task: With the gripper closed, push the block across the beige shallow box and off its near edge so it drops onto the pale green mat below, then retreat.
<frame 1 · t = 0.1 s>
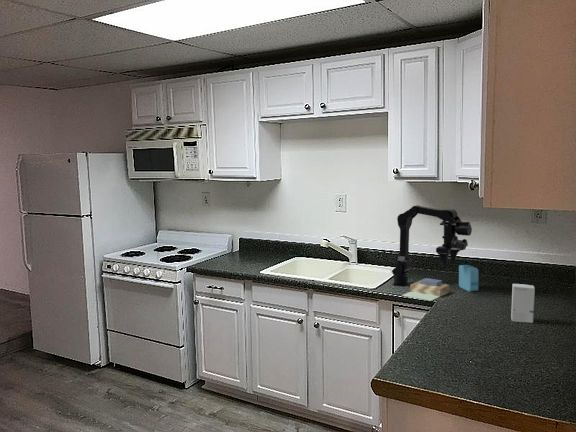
hand: (449, 264, 250), 14 cm above the table, fingers open, 9 cm apart
skincare box: (522, 320, 204), on the table
beige shallow box: (429, 292, 253), on the table
data package: (468, 289, 257), on the table
block: (431, 284, 253), point 4 cm above the table, touching beige shallow box
mat: (420, 296, 245), on the table
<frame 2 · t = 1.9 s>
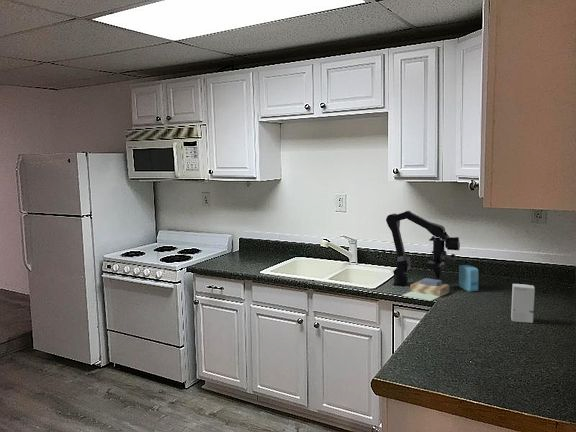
hand: (438, 278, 260), 5 cm above the table, fingers closed
nothing on the table moved.
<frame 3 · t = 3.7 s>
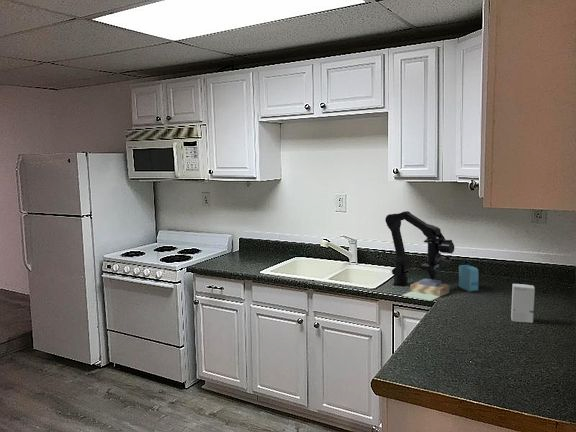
hand: (433, 281, 255), 5 cm above the table, fingers closed
block: (430, 284, 253), point 4 cm above the table, touching gripper
everything else where it was.
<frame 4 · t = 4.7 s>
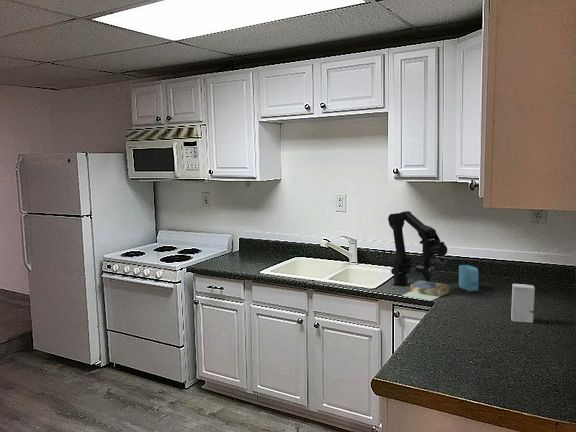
hand: (428, 283, 251), 5 cm above the table, fingers closed
block: (424, 286, 248), point 4 cm above the table, touching beige shallow box
everything else where it was.
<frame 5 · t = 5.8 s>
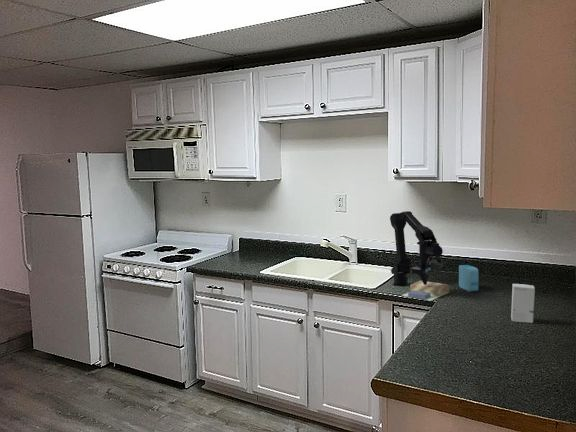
hand: (425, 284, 249), 5 cm above the table, fingers closed
block: (419, 292, 243), point 2 cm above the table, tilted 180°, touching mat
everything else where it was.
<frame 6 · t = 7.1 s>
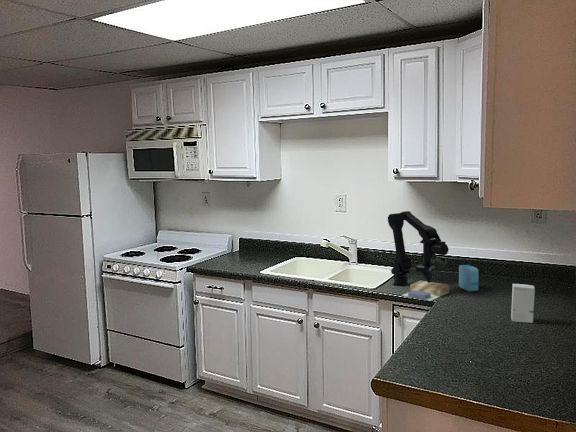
hand: (428, 282, 252), 5 cm above the table, fingers closed
nothing on the table moved.
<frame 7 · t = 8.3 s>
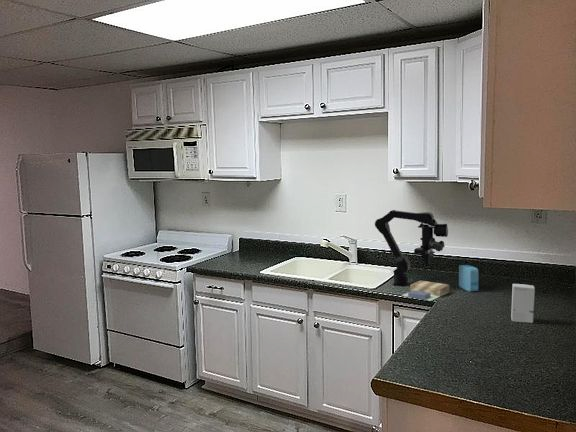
hand: (427, 265, 262), 12 cm above the table, fingers closed
nothing on the table moved.
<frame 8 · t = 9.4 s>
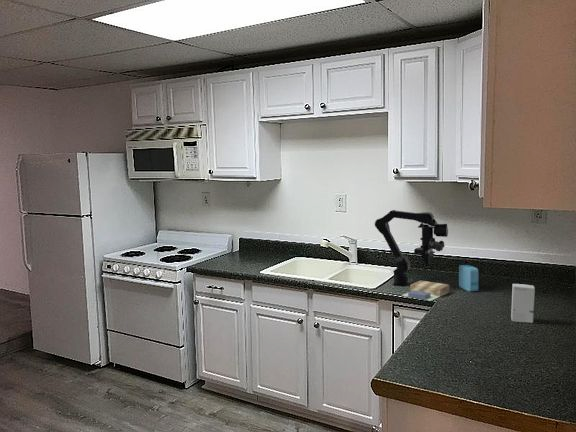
hand: (427, 264, 262), 12 cm above the table, fingers closed
nothing on the table moved.
at the end: block point 2.3 cm above the table; block inside the target area on the mat (1.9 cm from its centre), point 2.3 cm above the mat's base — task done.
